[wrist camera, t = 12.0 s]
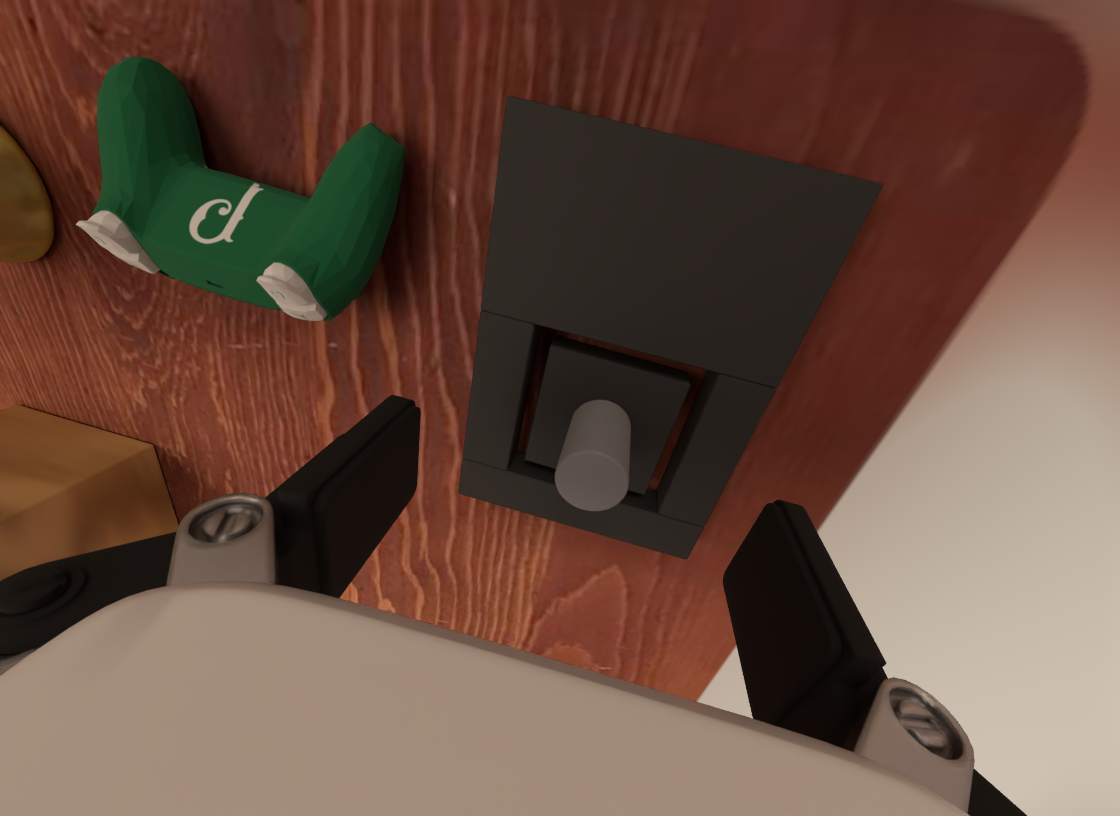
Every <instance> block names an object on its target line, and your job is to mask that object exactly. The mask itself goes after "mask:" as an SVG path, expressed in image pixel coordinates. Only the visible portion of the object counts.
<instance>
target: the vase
mask: <svg viewBox="0 0 1120 816" xmlns="http://www.w3.org/2000/svg"><path fill="white" fill-rule="evenodd" d="M53 239H54V220H53V212H52V207H51V203H50V199H49V196H48V194H47V191H46V189H45V187H44V185H43V183H42V180H41V178H40V176H39V175H38V173H37V171H36V169H35V167H34V166H33V164H32V163H31V161H30V160H29V158H28V157H27V155H26V154H25V153H24V151H23V150H22V149H21V148H20V146H19V145H18V144H17V142H16V141H15V140H14V139H13V138H12V137H11V136H10V134H9V133H8V132H7V131H6V130H5V129H4V128H3V127H2V126H1V125H0V261H4V262H15V263H17V262H32V261H35V260H37V259H39V258H41V257H42V256H43V255H44V254H45V253H46V252H47V251H48V250H49V248H50V246H51V244H52V242H53Z"/></svg>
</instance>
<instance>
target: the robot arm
mask: <svg viewBox="0 0 1120 816" xmlns="http://www.w3.org/2000/svg"><path fill="white" fill-rule="evenodd" d="M420 416H421V411H420V408H419V407H415V402H414V401H413V400H410V399H406V398H402V397H399V396H395V395H391V396H389V397H388V398H387V399H386V400H384V401H383V402H382V403H381V404H380V405H378V406H377V407H376V408H375V409H374V410H373V411H371V412H370V413H369V414H368V415H367V416H365V417H364V418H363V419H362V420H361V421H359V422H358V423H357V424H356V425H355V426H354V427H352V428H351V429H350V430H349V431H348V432H346V433H345V434H342V435H341V436H339V437H338V438H336V439H335V440H334V441H333V442H332V443H330V444H329V445H328V446H327V447H326V448H324V449H323V450H322V451H321V452H320V453H318V454H317V455H316V456H315V457H314V458H312V459H311V460H310V461H309V462H308V463H306V464H305V465H304V466H303V467H302V468H300V469H299V470H298V471H297V472H296V473H294V474H293V475H292V476H291V477H290V478H288V479H287V480H286V481H285V482H284V483H282V484H281V485H280V486H279V487H278V488H276V489H275V490H274V491H273V492H272V493H270V494H269V495H268V496H267V497H266V498H264V497H261V496H258V495H255V494H246V493H239V494H229V495H225V496H221V497H217V498H214V499H211V500H209V501H207V502H204V503H202V504H200V505H199V506H197V507H196V508H194V509H192V510H191V511H190V512H189V513H188V514H187V515H186V516H185V517H184V518H183V519H182V520H181V522H180V524H179V526H178V528H177V532H173V533H168V534H164V535H160V536H156V537H152V538H147V539H143V540H139V541H135V542H131V543H127V544H122V545H118V546H114V547H110V548H106V549H101V550H97V551H93V552H89V553H85V554H80V555H76V556H72V557H68V558H64V559H59V560H55V561H51V562H47V563H43V564H40V565H37V566H34V567H30V568H27V569H25V570H22V571H20V572H18V573H16V574H13V575H11V576H9V577H7V578H5V579H3V580H1V581H0V816H1027V815H1026V814H1025V813H1024V812H1022V811H1021V810H1020V809H1019V808H1018V807H1017V806H1016V805H1014V804H1013V803H1012V802H1011V801H1010V800H1009V799H1008V798H1007V797H1005V796H1004V795H1003V794H1002V793H1001V792H1000V791H999V790H997V789H996V788H995V787H994V786H993V785H992V784H991V783H990V782H988V781H987V780H986V779H985V778H984V777H983V776H982V775H981V774H979V773H978V772H977V771H976V770H975V769H974V752H973V748H972V746H971V743H970V741H969V739H968V736H967V735H966V733H965V732H964V730H963V729H962V727H961V726H960V724H959V723H958V721H957V720H956V719H955V718H954V717H953V716H952V715H951V713H950V712H949V711H948V710H947V709H946V708H945V707H944V706H943V705H942V704H941V703H940V702H938V700H936V699H935V698H934V697H933V696H932V695H930V694H929V693H928V692H926V691H925V690H923V689H921V688H920V687H918V686H917V685H915V684H913V683H911V682H908V681H906V680H903V679H898V678H889V679H888V678H887V676H886V674H885V672H884V670H883V668H882V667H883V666H884V665H885V664H886V662H885V660H884V658H883V656H882V654H881V652H880V650H879V648H878V646H877V645H876V643H875V641H874V639H873V637H872V635H871V633H870V631H869V629H868V628H867V626H866V624H865V622H864V620H863V618H862V616H861V614H860V612H859V611H858V609H857V607H856V605H855V603H854V601H853V599H852V597H851V596H850V594H849V592H848V590H847V588H846V586H845V584H844V582H843V580H842V578H841V577H840V575H839V573H838V571H837V569H836V567H835V565H834V564H833V561H832V560H831V558H830V556H829V554H828V552H827V550H826V548H825V546H824V545H823V543H822V541H821V539H820V537H819V535H818V533H817V531H816V529H815V527H814V526H813V524H812V522H811V520H810V518H809V516H808V514H807V512H806V510H805V509H804V508H803V507H802V506H800V505H797V504H793V503H789V502H786V501H782V500H776V501H775V502H774V503H773V504H772V503H768V504H767V505H766V506H765V507H764V509H763V510H762V512H761V513H760V515H759V517H758V518H757V520H756V522H755V523H754V525H753V526H752V528H751V530H750V531H749V533H748V535H747V536H746V538H745V540H744V541H743V543H742V544H741V546H740V548H739V549H738V551H737V553H736V554H735V556H734V557H733V559H732V561H731V562H730V564H729V566H728V567H727V569H726V571H725V573H724V577H723V586H724V590H725V595H726V599H727V604H728V608H729V613H730V617H731V622H732V626H733V631H734V635H735V640H736V644H737V649H738V653H739V658H740V662H741V667H742V671H743V676H744V680H745V685H746V689H747V694H748V698H749V703H750V707H751V712H752V716H753V719H752V718H749V717H745V716H742V715H738V714H735V713H732V712H729V711H725V710H722V709H718V708H715V707H712V706H709V705H705V704H702V703H699V702H695V701H692V700H689V699H685V698H682V697H679V696H675V695H672V694H669V693H665V692H662V691H659V690H655V689H652V688H649V687H645V686H642V685H639V684H635V683H632V682H628V681H625V680H622V679H618V678H615V677H611V676H608V675H605V674H601V673H598V672H594V671H591V670H588V669H584V668H581V667H577V666H574V665H571V664H567V663H564V662H560V661H557V660H554V659H550V658H547V657H543V656H540V655H537V654H533V653H530V652H526V651H523V650H519V649H516V648H513V647H509V646H506V645H502V644H499V643H495V642H492V641H488V640H485V639H481V638H478V637H475V636H471V635H468V634H464V633H461V632H457V631H454V630H450V629H447V628H443V627H440V626H436V625H433V624H429V623H426V622H422V621H419V620H415V619H412V618H408V617H405V616H401V615H398V614H394V613H391V612H387V611H384V610H380V609H376V608H372V607H369V606H365V605H361V604H357V603H354V602H350V601H346V600H343V599H339V597H340V596H341V595H342V594H343V592H344V591H345V590H346V588H347V587H348V585H349V584H350V583H351V581H352V580H353V578H354V577H355V576H356V574H357V573H358V572H359V570H360V569H361V567H362V566H363V565H364V563H365V562H366V561H367V559H368V558H369V556H370V555H371V554H372V552H373V551H374V550H375V548H376V547H377V545H378V544H379V543H380V541H381V540H382V538H383V537H384V536H385V534H386V533H387V532H388V530H389V529H390V527H391V526H392V525H393V523H394V522H395V521H396V519H397V518H398V516H399V515H400V514H401V512H402V511H403V510H404V508H405V507H406V505H407V504H408V503H409V501H410V500H411V498H412V497H413V495H414V493H415V490H416V487H417V474H418V455H419V435H420Z"/></svg>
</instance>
